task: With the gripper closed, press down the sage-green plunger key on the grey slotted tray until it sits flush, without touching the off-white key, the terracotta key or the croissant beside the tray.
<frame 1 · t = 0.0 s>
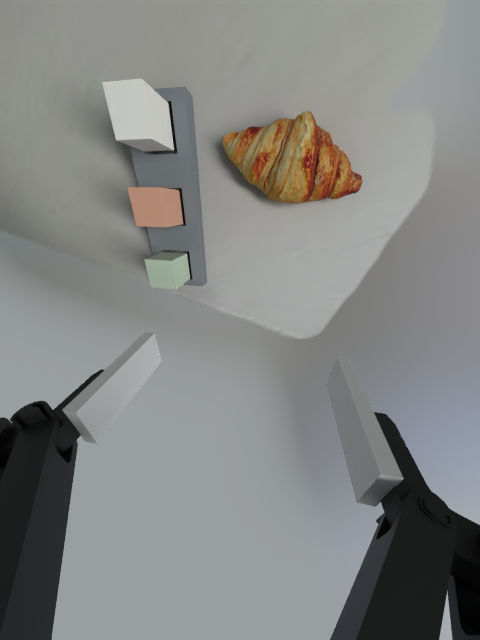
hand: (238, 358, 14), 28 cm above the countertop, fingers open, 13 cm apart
key white: (143, 120, 26), point 6 cm above the countertop, slide at 2.8 cm
key terracotta: (158, 207, 31), point 6 cm above the countertop, slide at 2.8 cm
grey slotted tray: (175, 207, 36), on the countertop
croissant: (290, 164, 30), on the countertop
key sage: (169, 269, 36), point 6 cm above the countertop, slide at 2.8 cm
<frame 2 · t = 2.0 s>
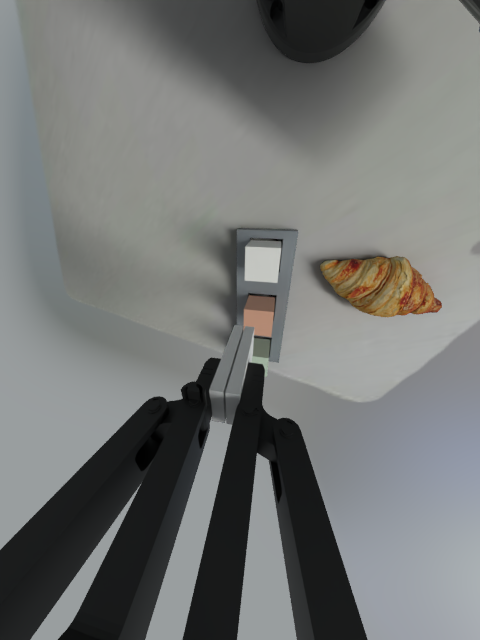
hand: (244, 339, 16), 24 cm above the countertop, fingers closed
key white: (263, 260, 31), point 6 cm above the countertop, slide at 2.8 cm
key terracotta: (259, 315, 36), point 6 cm above the countertop, slide at 2.8 cm
grey slotted tray: (262, 301, 41), on the countertop
croissant: (374, 280, 35), on the countertop
key sage: (256, 356, 41), point 6 cm above the countertop, slide at 2.8 cm
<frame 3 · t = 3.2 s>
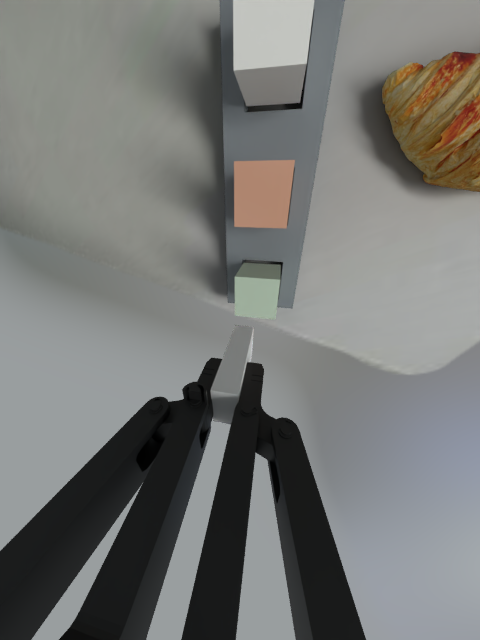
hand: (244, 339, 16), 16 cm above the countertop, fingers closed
key white: (274, 39, 14), point 6 cm above the countertop, slide at 2.8 cm
key terracotta: (264, 197, 20), point 6 cm above the countertop, slide at 2.8 cm
grey slotted tray: (267, 198, 25), on the countertop
croissant: (477, 129, 19), on the countertop
key sage: (258, 289, 25), point 6 cm above the countertop, slide at 2.8 cm
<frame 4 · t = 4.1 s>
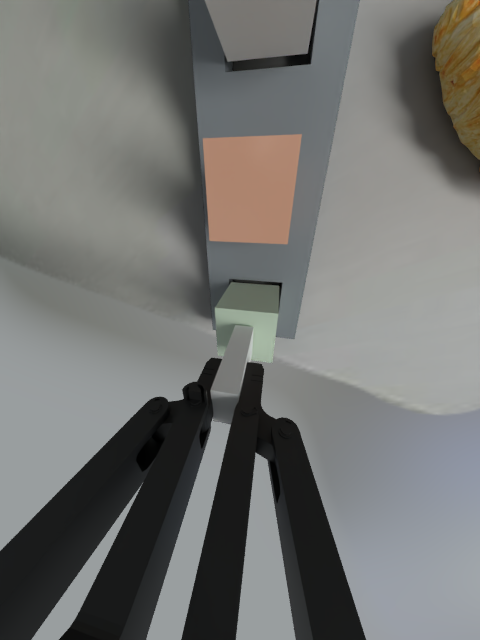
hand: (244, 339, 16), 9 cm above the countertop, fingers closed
key terracotta: (254, 197, 13), point 6 cm above the countertop, slide at 2.8 cm
grey slotted tray: (262, 199, 18), on the countertop
key sage: (249, 319, 19), point 6 cm above the countertop, slide at 2.6 cm, touching gripper
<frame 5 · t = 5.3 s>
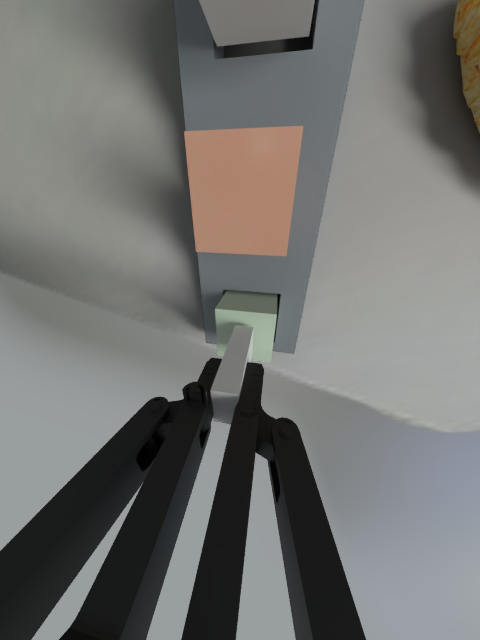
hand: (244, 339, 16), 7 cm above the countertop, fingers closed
key terracotta: (248, 201, 12), point 6 cm above the countertop, slide at 2.8 cm
grey slotted tray: (258, 203, 17), on the countertop
key sage: (249, 319, 19), point 3 cm above the countertop, slide at 0.0 cm
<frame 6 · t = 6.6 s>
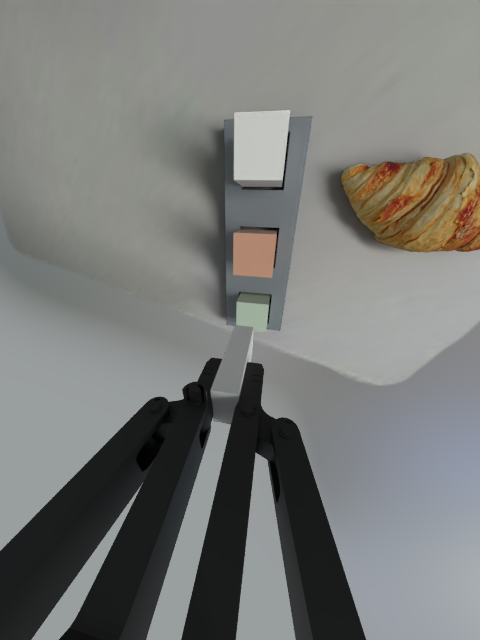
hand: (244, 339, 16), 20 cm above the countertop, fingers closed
key white: (261, 155, 21), point 6 cm above the countertop, slide at 2.8 cm
key terracotta: (255, 251, 26), point 6 cm above the countertop, slide at 2.8 cm
grey slotted tray: (259, 245, 31), on the countertop
croissant: (410, 206, 26), on the countertop
key sage: (253, 309, 33), point 3 cm above the countertop, slide at 0.0 cm
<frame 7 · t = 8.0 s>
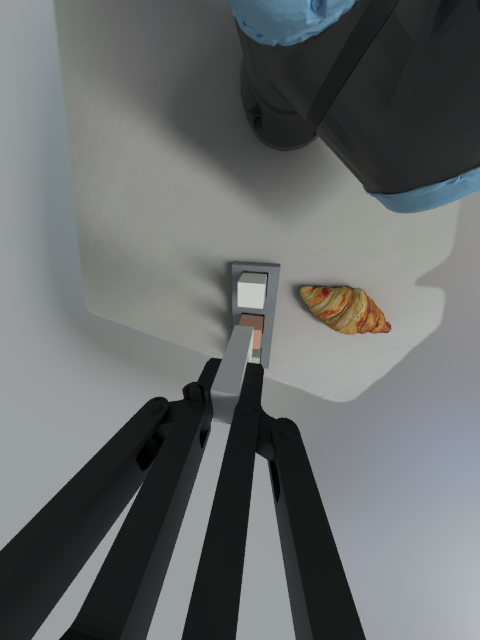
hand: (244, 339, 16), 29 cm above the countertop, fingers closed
key white: (252, 290, 39), point 6 cm above the countertop, slide at 2.8 cm
key terracotta: (250, 331, 44), point 6 cm above the countertop, slide at 2.8 cm
grey slotted tray: (253, 318, 49), on the countertop
croissant: (342, 304, 43), on the countertop
key sage: (250, 356, 51), point 3 cm above the countertop, slide at 0.0 cm
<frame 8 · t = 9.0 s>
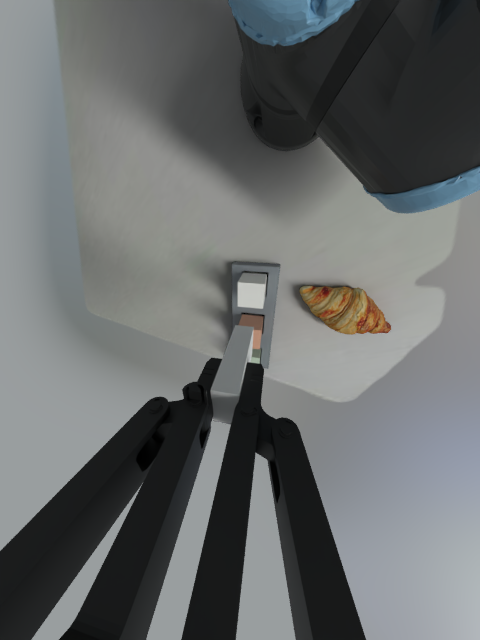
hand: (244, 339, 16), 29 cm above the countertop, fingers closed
key white: (252, 290, 39), point 6 cm above the countertop, slide at 2.8 cm
key terracotta: (250, 331, 44), point 6 cm above the countertop, slide at 2.8 cm
grey slotted tray: (253, 318, 49), on the countertop
croissant: (342, 303, 43), on the countertop
key sage: (250, 356, 51), point 3 cm above the countertop, slide at 0.0 cm
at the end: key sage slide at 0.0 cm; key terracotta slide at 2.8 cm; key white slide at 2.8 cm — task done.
